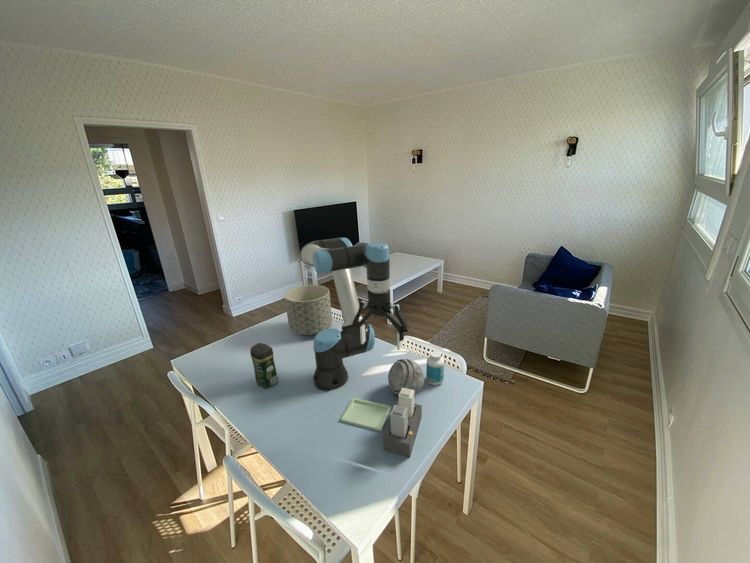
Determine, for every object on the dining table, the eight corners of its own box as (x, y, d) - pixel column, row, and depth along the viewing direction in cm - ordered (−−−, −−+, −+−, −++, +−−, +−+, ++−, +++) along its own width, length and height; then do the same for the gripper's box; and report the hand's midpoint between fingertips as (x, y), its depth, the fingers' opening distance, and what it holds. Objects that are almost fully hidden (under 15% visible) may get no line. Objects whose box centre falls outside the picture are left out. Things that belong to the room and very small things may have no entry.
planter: (282, 339, 172) (276, 300, 164) (300, 319, 195) (295, 284, 187) (325, 342, 168) (320, 302, 160) (337, 321, 191) (334, 285, 183)
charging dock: (383, 451, 101) (381, 416, 96) (398, 412, 117) (397, 381, 112) (409, 458, 98) (409, 423, 93) (421, 418, 114) (422, 385, 109)
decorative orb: (383, 386, 132) (382, 356, 127) (413, 377, 137) (413, 348, 132) (398, 409, 119) (397, 377, 114) (430, 398, 124) (431, 367, 119)
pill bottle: (443, 387, 130) (444, 359, 125) (425, 385, 131) (426, 358, 127) (443, 376, 137) (444, 349, 132) (426, 374, 138) (427, 348, 134)
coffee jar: (253, 382, 138) (245, 347, 131) (268, 373, 143) (262, 339, 137) (265, 391, 132) (258, 354, 126) (281, 381, 138) (275, 345, 131)
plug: (391, 443, 102) (390, 413, 98) (395, 432, 106) (394, 403, 101) (404, 446, 100) (404, 416, 96) (407, 436, 104) (407, 406, 100)
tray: (340, 422, 114) (340, 419, 113) (353, 400, 124) (353, 397, 124) (381, 432, 108) (381, 429, 108) (391, 409, 119) (391, 406, 118)
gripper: (340, 290, 103) (344, 345, 110) (412, 297, 95) (412, 356, 102) (349, 282, 110) (353, 335, 117) (418, 289, 101) (417, 344, 108)
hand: (380, 345), depth 109 cm, fingers open, 13 cm apart
